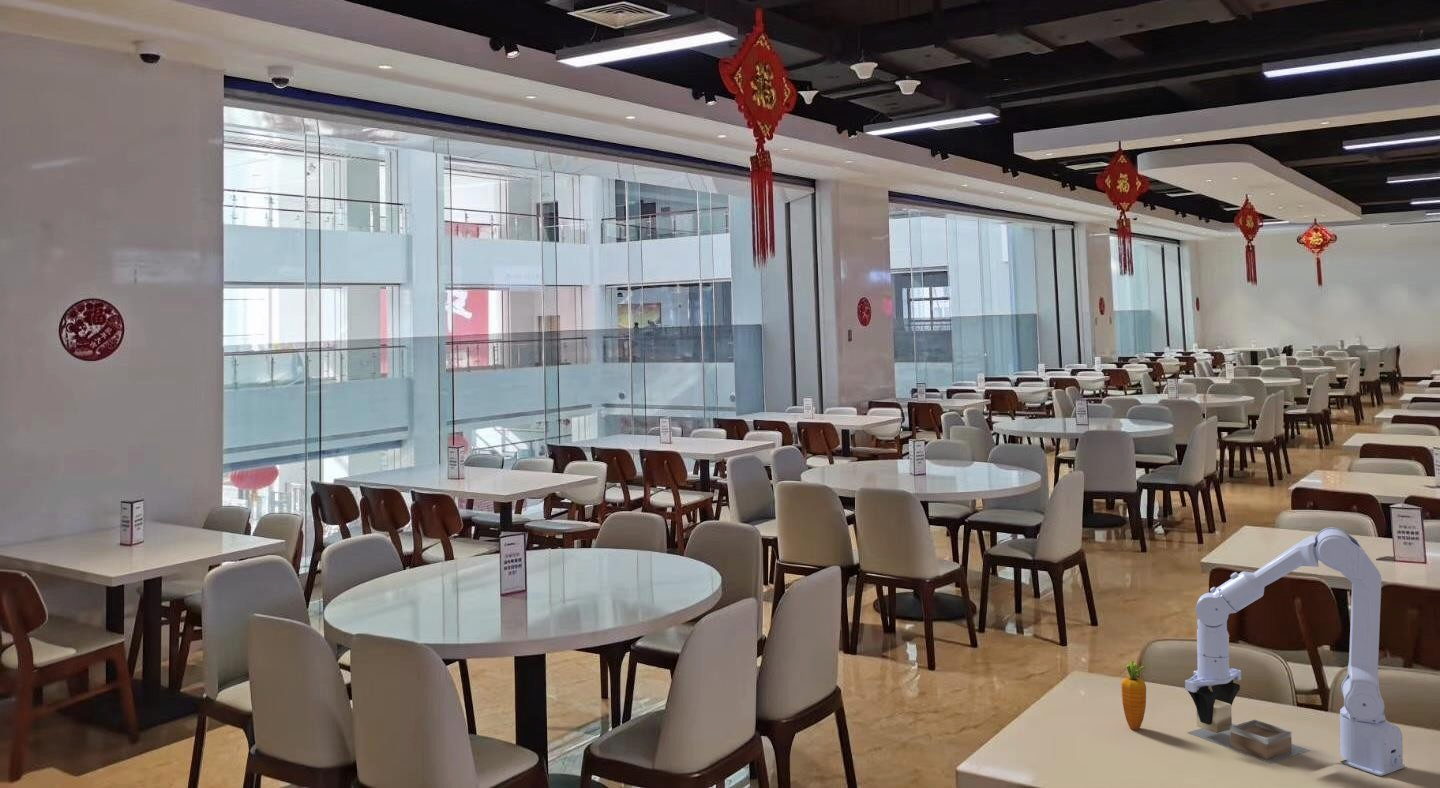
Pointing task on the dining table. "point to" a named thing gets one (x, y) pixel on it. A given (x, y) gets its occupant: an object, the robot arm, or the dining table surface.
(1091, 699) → the dining table surface
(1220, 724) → the maple block
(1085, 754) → the dining table surface
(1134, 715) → the carrot
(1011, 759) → the dining table surface
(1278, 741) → the walnut plinth
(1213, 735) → the board
